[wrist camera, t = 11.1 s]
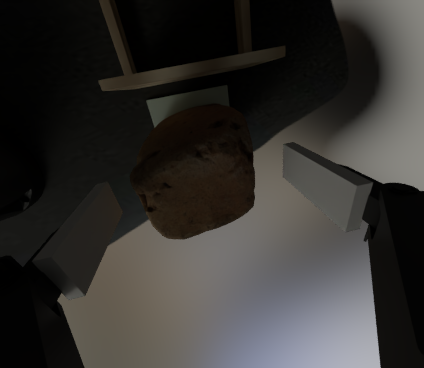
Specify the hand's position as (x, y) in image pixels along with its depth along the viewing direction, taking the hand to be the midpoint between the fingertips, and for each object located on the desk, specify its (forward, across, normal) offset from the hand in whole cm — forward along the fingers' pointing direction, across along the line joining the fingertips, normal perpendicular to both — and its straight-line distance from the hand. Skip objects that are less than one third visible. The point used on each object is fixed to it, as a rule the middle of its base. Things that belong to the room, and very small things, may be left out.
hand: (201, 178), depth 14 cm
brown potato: (+18, +1, 0) cm, 18 cm away
